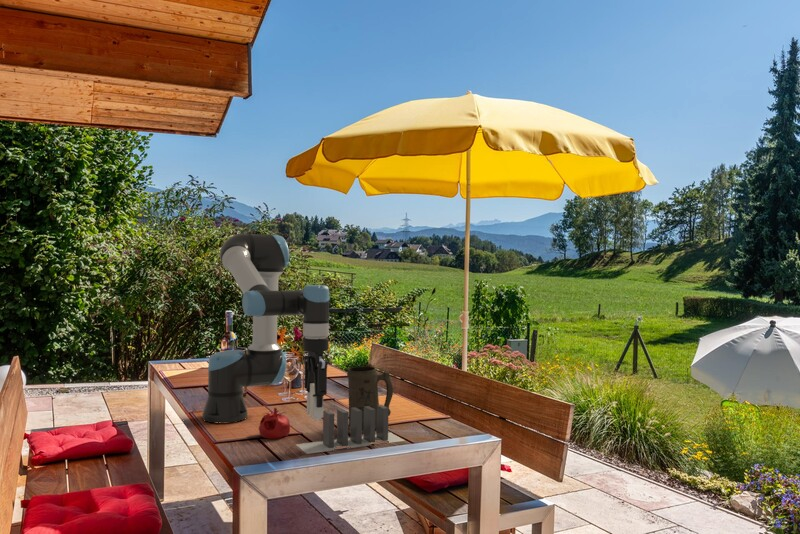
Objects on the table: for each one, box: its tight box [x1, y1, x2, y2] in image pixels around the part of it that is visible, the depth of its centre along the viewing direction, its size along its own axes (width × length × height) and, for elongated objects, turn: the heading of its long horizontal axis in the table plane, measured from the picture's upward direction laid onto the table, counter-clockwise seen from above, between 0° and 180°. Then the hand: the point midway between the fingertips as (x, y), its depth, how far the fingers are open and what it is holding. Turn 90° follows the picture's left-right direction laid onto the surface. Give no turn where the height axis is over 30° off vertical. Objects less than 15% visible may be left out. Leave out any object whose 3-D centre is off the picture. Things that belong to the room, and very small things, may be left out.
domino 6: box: [375, 404, 390, 441], centre depth 195 cm, size 2×5×10 cm, turn 28°
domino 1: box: [309, 383, 322, 421], centre depth 184 cm, size 2×5×10 cm, turn 28°
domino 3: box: [336, 408, 349, 446], centre depth 189 cm, size 2×5×10 cm, turn 28°
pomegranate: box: [258, 407, 291, 440], centre depth 196 cm, size 10×10×9 cm
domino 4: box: [349, 407, 363, 444], centre depth 191 cm, size 2×5×10 cm, turn 28°
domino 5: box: [362, 406, 376, 443], centre depth 193 cm, size 2×5×10 cm, turn 28°
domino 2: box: [322, 409, 335, 448], centre depth 186 cm, size 2×5×10 cm, turn 28°
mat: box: [295, 432, 406, 455], centre depth 190 cm, size 32×10×1 cm, turn 118°
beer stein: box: [346, 366, 394, 432], centre depth 209 cm, size 15×11×20 cm
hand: (314, 415), depth 184 cm, fingers closed on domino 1, 5 cm apart
